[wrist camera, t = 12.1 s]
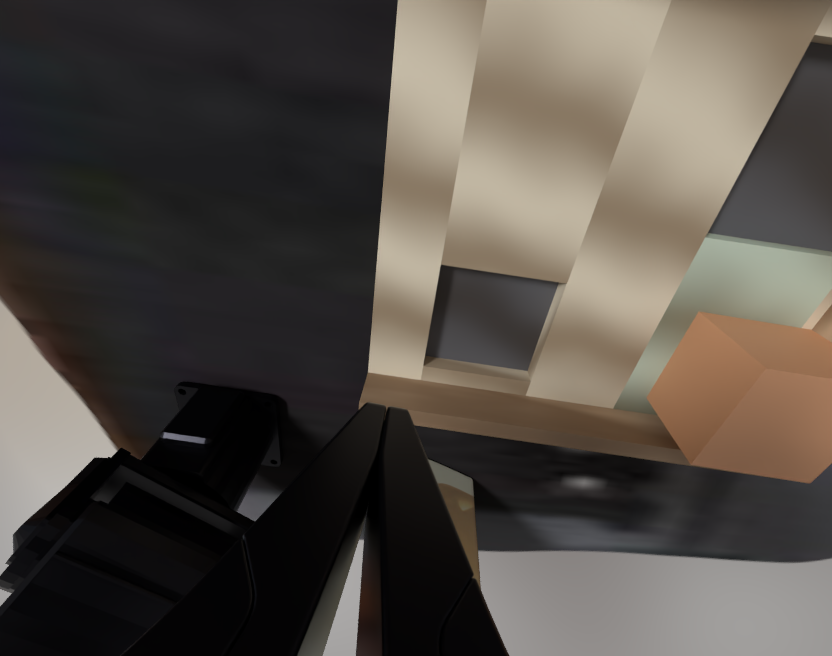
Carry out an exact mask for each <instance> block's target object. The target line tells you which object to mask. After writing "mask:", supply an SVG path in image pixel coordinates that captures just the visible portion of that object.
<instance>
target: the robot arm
mask: <svg viewBox="0 0 832 656" xmlns="http://www.w3.org/2000/svg"><path fill="white" fill-rule="evenodd" d="M174 391H175V395H176V399H177V403H178V407H179V410H180V411H179V412H178V413H177V415H176V416H175V417H174V418H173V419H172V420H171V421H170V423H169V424H168V425H167V426H166V427H165V428H164V430H163V431H162V432H161V433H160V438H159V439H158V440H157V441H156V442H155V444H154V445H153V446H152V447H151V448H150V449H149V451H148V452H147V453H146V454H145V455H144V456H143V458H142V459H141V460H139V459H137V458H135V457H133V456H132V455H130V454H131V453H130V452H129V451H127V450H125V449H123V448H120V449H119V450H118V451H117V452H116V453H115V454H114V455H113V456H112V457H111V458H110V457H108V458H94V459H93V460H92V461H91V462H90V463H89V464H88V465H87V466H86V467H85V468H84V469H83V470H82V471H81V472H80V473H79V474H78V475H77V476H76V477H75V478H74V479H73V480H72V481H71V482H70V483H69V484H68V485H67V486H66V487H65V488H64V489H62V490H61V491H60V492H59V493H58V494H57V495H56V496H54V497H53V498H52V499H51V500H50V501H49V502H47V503H46V504H45V505H44V506H43V507H42V508H41V509H39V510H38V511H37V512H36V513H35V514H34V515H33V516H31V517H30V518H29V519H28V520H27V521H26V522H25V523H24V524H23V525H22V526H21V527H20V528H19V529H18V530H17V531H16V532H15V533H14V534H13V555H12V556H11V557H10V558H9V559H8V561H7V562H6V564H8V565H9V566H8V567H7V569H6V570H5V571H4V572H3V573H2V574H1V576H0V589H2V590H5V591H7V592H10V593H12V594H11V595H10V596H9V597H8V598H7V600H6V601H5V602H4V603H3V604H2V605H1V607H0V656H322V655H323V652H324V649H325V646H326V643H327V640H328V636H329V633H330V630H331V627H332V623H333V620H334V617H335V614H336V611H337V608H338V604H339V601H340V598H341V595H342V591H343V589H344V585H345V582H346V579H347V576H348V572H349V569H350V566H351V563H352V560H353V557H354V553H355V550H356V547H357V544H358V541H359V538H360V534H361V531H362V528H363V524H364V520H365V516H366V512H367V516H366V524H365V534H364V549H363V563H362V577H361V593H360V605H359V619H358V633H357V648H356V656H509V654H508V652H507V650H506V648H505V646H504V644H503V641H502V639H501V637H500V634H499V632H498V630H497V627H496V625H495V623H494V621H493V618H492V616H491V614H490V611H489V609H488V607H487V604H486V602H485V599H484V597H483V594H482V592H481V589H480V587H479V584H478V582H477V580H476V579H475V578H473V576H474V572H473V570H472V567H471V565H470V563H469V560H468V558H467V555H466V553H465V550H464V548H463V545H462V543H461V540H460V538H459V535H458V533H457V530H456V528H455V525H454V523H453V520H452V518H451V515H450V513H449V510H448V508H447V505H446V503H445V500H444V498H443V495H442V493H441V490H440V488H439V485H438V483H437V481H436V478H435V476H434V473H433V471H432V468H431V466H430V463H429V461H428V458H427V456H426V453H425V451H424V448H423V446H422V443H421V441H420V438H419V436H418V433H417V431H416V428H415V426H414V423H413V421H412V418H411V416H410V413H409V411H408V410H407V409H404V408H399V407H393V406H389V407H388V408H387V410H386V406H385V405H382V404H377V403H372V402H367V403H365V404H364V405H363V406H362V407H361V408H360V409H359V410H358V411H357V412H356V414H355V415H354V416H353V417H352V418H351V419H350V420H349V421H348V422H347V423H346V424H345V425H344V426H343V428H342V429H341V430H340V431H339V432H338V433H337V434H336V435H335V436H334V437H333V438H332V439H331V441H330V442H329V443H328V444H327V445H326V446H325V447H324V448H323V449H322V450H321V451H320V452H319V453H318V455H317V456H316V457H315V458H314V459H313V460H312V461H311V462H310V463H309V464H308V465H307V466H306V467H305V469H304V470H303V471H302V472H301V473H300V474H299V475H298V476H297V477H296V478H295V479H294V480H293V481H292V483H291V484H290V485H289V486H288V487H287V488H286V489H285V490H284V491H283V492H282V493H281V494H280V496H279V497H278V498H277V499H276V500H275V501H274V502H273V503H272V504H271V505H270V506H269V507H268V508H267V510H266V511H265V512H264V513H263V514H262V515H261V516H260V517H259V518H258V519H257V520H256V521H253V520H251V519H249V518H247V517H245V516H243V515H242V514H240V513H238V512H237V510H238V508H239V506H240V504H241V502H242V500H243V498H244V497H245V495H246V493H247V491H248V489H249V487H250V485H251V483H252V481H253V479H254V477H255V475H256V473H257V471H258V469H259V467H260V465H266V466H272V467H278V466H280V465H281V462H282V460H283V454H282V442H281V429H280V416H279V404H278V399H277V398H276V397H275V396H273V395H270V394H263V393H256V392H249V391H243V390H236V389H229V388H222V387H216V386H209V385H202V384H195V383H189V382H180V383H179V384H178V385H177V386H176V387H175V388H174ZM269 402H270V403H269ZM385 414H386V415H385ZM384 419H385V420H384ZM372 482H373V483H372ZM371 487H372V488H371ZM370 492H371V493H370ZM369 497H370V498H369ZM368 502H369V504H368ZM367 507H368V509H367Z"/></svg>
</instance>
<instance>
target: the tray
mask: <svg viewBox="0 0 832 656" xmlns="http://www.w3.org/2000/svg"><path fill="white" fill-rule="evenodd" d="M698 312H705V313H712V314H718V315H724V316H730V317H736V318H743V319H749V320H755V321H761V322H767V323H773V324H780V325H786V326H792V327H798V328H804V329H811V330H813V331H814V332H816V333H818V334H819V335H821V336H822V337H824V338H825V339H827V340H829V341H830V342H832V0H398V8H397V20H396V32H395V45H394V57H393V70H392V82H391V94H390V107H389V119H388V132H387V144H386V157H385V169H384V181H383V194H382V206H381V219H380V231H379V243H378V256H377V268H376V281H375V293H374V305H373V318H372V330H371V343H370V355H369V368H368V374H367V378H366V381H365V385H364V388H363V391H362V395H361V398H360V402H359V409H360V408H361V407H362V406H363V405H364V404H365V403H367V402H372V403H377V404H382V405H385V406H386V410H387V408H388V407H389V406H393V407H399V408H404V409H407V410H408V411H409V413H410V416H411V418H412V421H413V423H414V425H417V426H424V427H431V428H438V429H444V430H451V431H458V432H465V433H471V434H478V435H485V436H492V437H498V438H505V439H512V440H519V441H525V442H532V443H539V444H546V445H553V446H559V447H566V448H573V449H580V450H586V451H593V452H600V453H607V454H613V455H620V456H627V457H634V458H641V459H647V460H654V461H661V462H668V463H674V464H681V465H688V466H695V465H691V464H690V463H689V461H688V460H687V458H686V457H685V455H684V454H683V452H682V451H681V449H680V448H679V446H678V445H677V443H676V442H675V440H674V439H673V437H672V436H671V434H670V433H669V431H668V430H667V428H666V427H665V425H664V424H663V422H662V421H661V419H660V418H659V416H658V415H657V413H656V412H655V410H654V409H653V407H652V406H651V404H650V403H649V401H648V400H647V396H648V394H649V393H650V391H651V389H652V388H653V386H654V384H655V383H656V381H657V379H658V378H659V376H660V374H661V373H662V371H663V369H664V368H665V366H666V365H667V363H668V361H669V360H670V358H671V356H672V355H673V353H674V351H675V350H676V348H677V346H678V345H679V343H680V341H681V340H682V338H683V337H684V335H685V333H686V332H687V330H688V328H689V327H690V325H691V323H692V322H693V320H694V318H695V317H696V315H697V313H698ZM385 415H386V414H385ZM384 420H385V419H384ZM695 467H701V466H695ZM701 468H708V467H701ZM708 469H714V468H708ZM715 470H720V469H715ZM722 471H727V470H722ZM728 472H733V471H728ZM735 473H740V472H735ZM742 474H746V473H742ZM749 475H752V474H749ZM756 476H759V475H756ZM762 477H765V476H762ZM769 478H771V477H769Z"/></svg>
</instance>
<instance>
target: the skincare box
mask: <svg viewBox="0 0 832 656" xmlns="http://www.w3.org/2000/svg"><path fill="white" fill-rule="evenodd" d="M428 461H429V463H430V466H431V468H432V471H433V473H434V476H435V478H436V481H437V483H438V485H439V488H440V490H441V493H442V495H443V498H444V500H445V503H446V505H447V508H448V510H449V513H450V515H451V518H452V520H453V523H454V525H455V528H456V530H457V533H458V535H459V538H460V540H461V543H462V545H463V548H464V550H465V553H466V555H467V558H468V560H469V563H470V565H471V567H472V570H473V572H474V576H473V578H475V579H476V580H477V582H478V584H479V587H480V572H479V559H478V545H477V533H476V519H475V505H474V491H473V480H472V478H470V477H468V476H465V475H463V474H461V473H459V472H457V471H454V470H452V469H450V468H448V467H446V466H443V465H441V464H439V463H436V462H434V461H432V460H429V459H428ZM480 589H481V587H480Z"/></svg>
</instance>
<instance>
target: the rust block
mask: <svg viewBox="0 0 832 656" xmlns="http://www.w3.org/2000/svg"><path fill="white" fill-rule="evenodd" d="M647 400H648V401H649V403H650V404H651V406H652V407H653V409H654V410H655V412H656V413H657V415H658V416H659V418H660V419H661V421H662V422H663V424H664V425H665V427H666V428H667V430H668V431H669V433H670V434H671V436H672V437H673V439H674V440H675V442H676V443H677V445H678V446H679V448H680V449H681V451H682V452H683V454H684V455H685V457H686V458H687V460H688V461H689V463H690V464H691V465H695V466H701V467H708V468H714V469H720V470H727V471H733V472H740V473H746V474H752V475H759V476H765V477H771V478H778V479H784V480H790V481H797V482H803V483H811V482H812V481H813V480H814V479H815V478H816V477H818V476H819V475H820V474H821V473H822V472H823V471H824V470H825V469H826V468H827V467H828V466H829V465H830V464H831V463H832V342H830V341H829V340H827V339H825V338H824V337H822V336H821V335H819V334H818V333H816V332H814V331H813V330H811V329H804V328H798V327H792V326H786V325H780V324H773V323H767V322H761V321H755V320H749V319H743V318H736V317H730V316H724V315H718V314H712V313H705V312H698V313H697V315H696V317H695V318H694V320H693V322H692V323H691V325H690V327H689V328H688V330H687V332H686V333H685V335H684V337H683V338H682V340H681V341H680V343H679V345H678V346H677V348H676V350H675V351H674V353H673V355H672V356H671V358H670V360H669V361H668V363H667V365H666V366H665V368H664V369H663V371H662V373H661V374H660V376H659V378H658V379H657V381H656V383H655V384H654V386H653V388H652V389H651V391H650V393H649V394H648V396H647Z"/></svg>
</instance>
